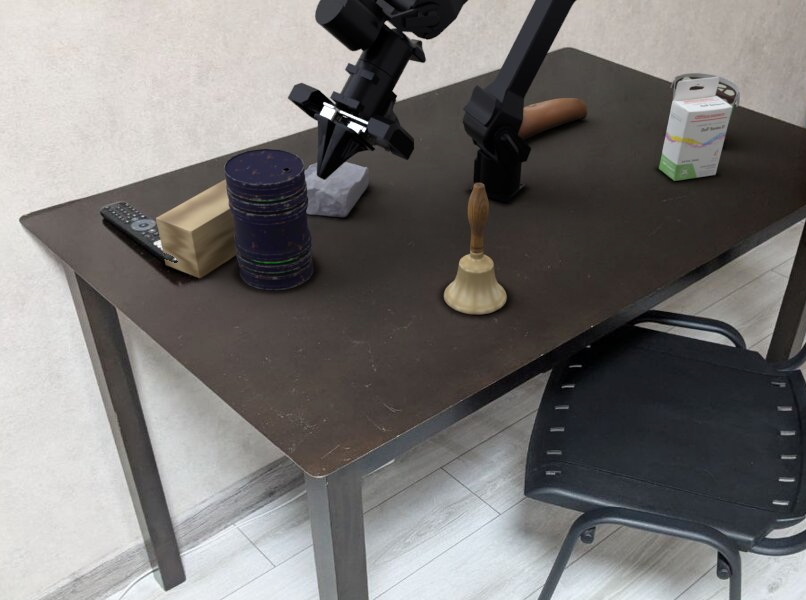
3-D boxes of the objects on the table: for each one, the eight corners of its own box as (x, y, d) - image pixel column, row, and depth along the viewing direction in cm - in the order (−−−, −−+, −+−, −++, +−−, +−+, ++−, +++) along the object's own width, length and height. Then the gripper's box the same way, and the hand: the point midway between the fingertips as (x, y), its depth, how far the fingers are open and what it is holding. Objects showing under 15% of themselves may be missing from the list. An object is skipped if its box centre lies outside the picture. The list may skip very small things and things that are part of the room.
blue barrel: (226, 283, 119) (208, 177, 109) (256, 246, 126) (243, 143, 116) (298, 296, 118) (287, 190, 108) (325, 257, 125) (317, 155, 115)
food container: (739, 140, 162) (753, 84, 155) (726, 152, 158) (740, 95, 151) (676, 121, 167) (686, 66, 160) (661, 132, 163) (672, 76, 156)
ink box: (673, 182, 148) (692, 92, 138) (657, 169, 152) (674, 80, 142) (717, 175, 151) (738, 86, 141) (701, 162, 154) (720, 74, 145)
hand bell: (433, 305, 118) (435, 192, 107) (458, 274, 124) (462, 164, 113) (493, 321, 116) (500, 208, 106) (515, 289, 122) (524, 178, 111)
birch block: (269, 234, 129) (263, 188, 124) (200, 278, 120) (191, 231, 115) (236, 222, 131) (229, 176, 126) (165, 265, 122) (155, 217, 117)
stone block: (288, 221, 135) (350, 219, 133) (279, 191, 132) (343, 188, 130) (316, 188, 144) (375, 185, 142) (308, 159, 141) (369, 155, 139)
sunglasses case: (552, 103, 168) (569, 78, 163) (574, 133, 167) (592, 108, 162) (482, 128, 158) (497, 102, 153) (505, 160, 158) (521, 135, 152)
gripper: (457, 123, 123) (402, 225, 124) (359, 84, 131) (307, 180, 132) (418, 80, 113) (358, 192, 114) (314, 40, 121) (259, 145, 122)
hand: (320, 177), depth 121 cm, fingers closed
